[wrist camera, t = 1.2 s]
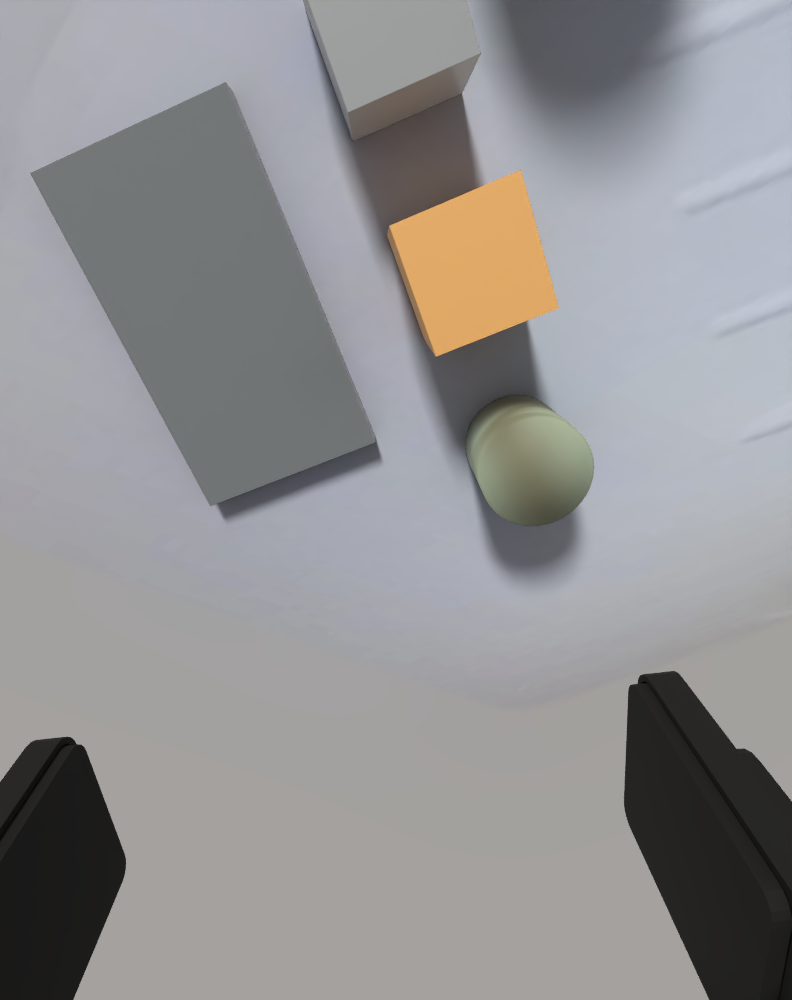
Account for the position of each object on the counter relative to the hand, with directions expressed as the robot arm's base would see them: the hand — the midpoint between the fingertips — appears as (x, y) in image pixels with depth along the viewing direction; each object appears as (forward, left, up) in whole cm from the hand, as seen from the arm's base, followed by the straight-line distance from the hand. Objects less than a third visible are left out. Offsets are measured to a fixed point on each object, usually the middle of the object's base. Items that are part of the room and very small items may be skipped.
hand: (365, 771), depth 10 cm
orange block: (-7, -6, -22) cm, 24 cm away
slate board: (+4, -8, -22) cm, 24 cm away
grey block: (-7, -15, -22) cm, 27 cm away
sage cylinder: (-7, +3, -22) cm, 23 cm away
